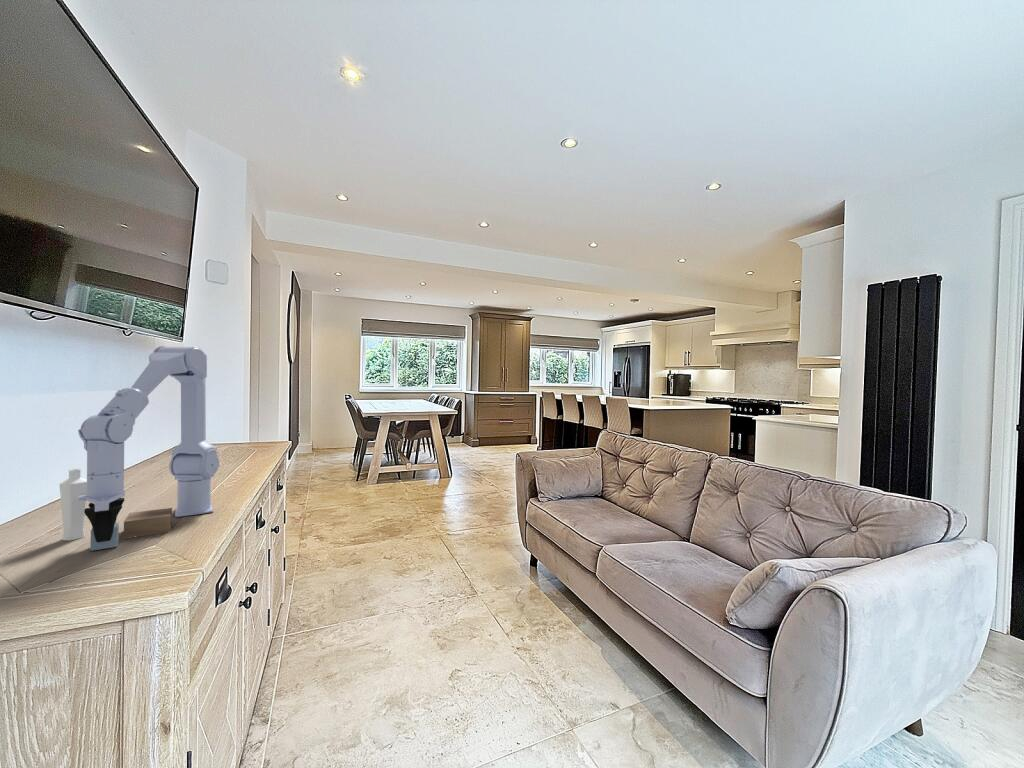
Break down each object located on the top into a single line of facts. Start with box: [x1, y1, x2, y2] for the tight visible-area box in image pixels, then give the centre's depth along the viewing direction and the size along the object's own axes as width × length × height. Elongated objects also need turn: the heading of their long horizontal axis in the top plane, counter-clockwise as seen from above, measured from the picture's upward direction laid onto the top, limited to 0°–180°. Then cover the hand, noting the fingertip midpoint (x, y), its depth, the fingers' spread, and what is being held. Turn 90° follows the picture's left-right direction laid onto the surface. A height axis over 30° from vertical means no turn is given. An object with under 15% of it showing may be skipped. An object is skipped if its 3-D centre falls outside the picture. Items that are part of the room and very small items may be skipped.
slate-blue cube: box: [90, 522, 120, 551], centre depth 92 cm, size 4×4×4 cm
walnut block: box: [123, 507, 173, 539], centre depth 103 cm, size 8×8×4 cm
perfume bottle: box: [59, 468, 87, 541], centre depth 98 cm, size 5×4×15 cm
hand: (104, 538), depth 92 cm, fingers closed on slate-blue cube, 4 cm apart
